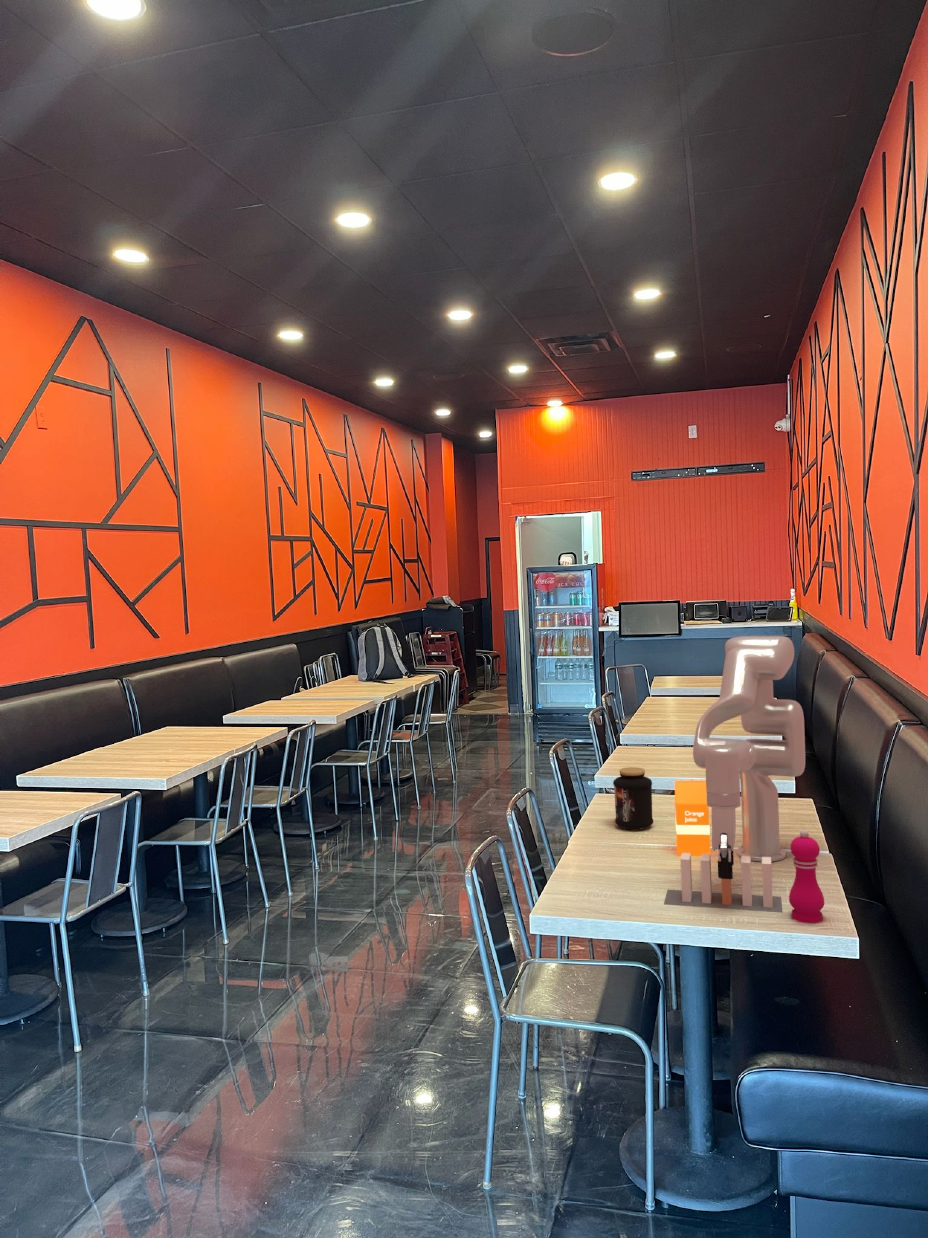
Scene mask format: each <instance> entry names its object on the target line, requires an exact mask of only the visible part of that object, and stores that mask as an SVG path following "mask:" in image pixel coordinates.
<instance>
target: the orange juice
mask: <svg viewBox="0 0 928 1238" xmlns="http://www.w3.org/2000/svg"><path fill="white" fill-rule="evenodd" d="M709 808H710V807H709V806H707V793H706V780H674V809H675V810H674V811H675V817H674V818H675V834H676V836H675V838H676V841H675V842H676V852H677V856H679V857H681V856H682V853H691V857H701V855H702V854H710V855H711V839H710V838H711V833H710V831H711V829H710V826H711V824H710V812H709V811H710V809H709Z"/></svg>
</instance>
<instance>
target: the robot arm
mask: <svg viewBox="0 0 928 1238" xmlns="http://www.w3.org/2000/svg"><path fill="white" fill-rule="evenodd" d="M724 645H725V646H724V652H725V658H724V666H723V671H722V677H721V678H722V679H721V684H720V685H721V686H720V691H719V692H720V693H719V699H718V700H716V702H715V703H713V704H712V705H711V706H710V707H708V708H707V710H706V711H705V712H704V713H703V715H702V716H701V717H700V719H699V720H698V722H697V726H696V728H695V734H694V741H693V747H692V749H693V750H692V757H693V761H694V763H695V765H696V766H697V767H698V768H701V769H704V770H705V781H706V793H707V806H709V808H711V815H710V816H711V820H710V821H711V822H710V823H711V824H710V826H711V849H712V850H713V851H716V850H717V851H718V852H717V853H718V856H717V858H718V860H717V877H718V879H720V880H721V879H731V880H733V878H734V874H733V873H734V871H733V866H734V850H735V843H736V829H737V828H736V824H737V823H736V809H737V808H739V807H741V827H742V829H741V830H742V831H741V832H742V833H741V834H742V845H740V846H739V847H737V850H736V851H737V855H738V857H740V858H741V856H750V858H751V861H753V862H762V857H771V862H778V861H781V860H785V858H786V857H787V851H786V850H785V849H784V848H782V847H781V842H780V841H781V838H780V837H781V836H780V835H781V834H780V811H779V792H778V789H777V786H776V785H775V783H774V781H773V780H772V779H771V778H770V777H771V776H775V777H790V778H791V777H792V778H793V777H796V778H797V777H799V776H801V775H803V773H804V772H805V768H806V742H805V741H806V736H805V717H804V710H803V708H802V705H801V704H800V703H799V702H798V701H796V700H793V699H779V698H778V699H775V697H774V681H778V680H781V679H783V678H784V677H785V676H786V674H787V673H788V671H789V670H790V668H791V667H792V665H793V663H794V662H793V661H794V659H795V646H794V643H793V641H792V639H790V638H789V637H787V636H784V635H772V636H771V635H768V636H767V635H766V636H765V635H764V636H763V635H762V636H761V635H760V636H759V635H758V636H757V635H752V636H751V635H749V636H748V635H747V636H745V635H743V636H736V637H732V638H729V639H728V640H726V642H725V644H724ZM737 717H740V721H741V727H742V729H743V730H744V731H745V732H747V733H749V734H754V735H755V734H756V735H766V736H767V735H769V736H770V735H771V736H773V735H774V736H782V737H784V739H785V740H784V739H770V738H768V739H767V738H749V739H748V738H747V739H734V738H717V737H710V736H711V734H712V732H713V730H714V729H716V728H717V727H718V726H719V725H722V724H723V723H725V722H728V721H730V720H733V719H735V718H737ZM769 776H770V777H769ZM728 858H729V859H728Z"/></svg>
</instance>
